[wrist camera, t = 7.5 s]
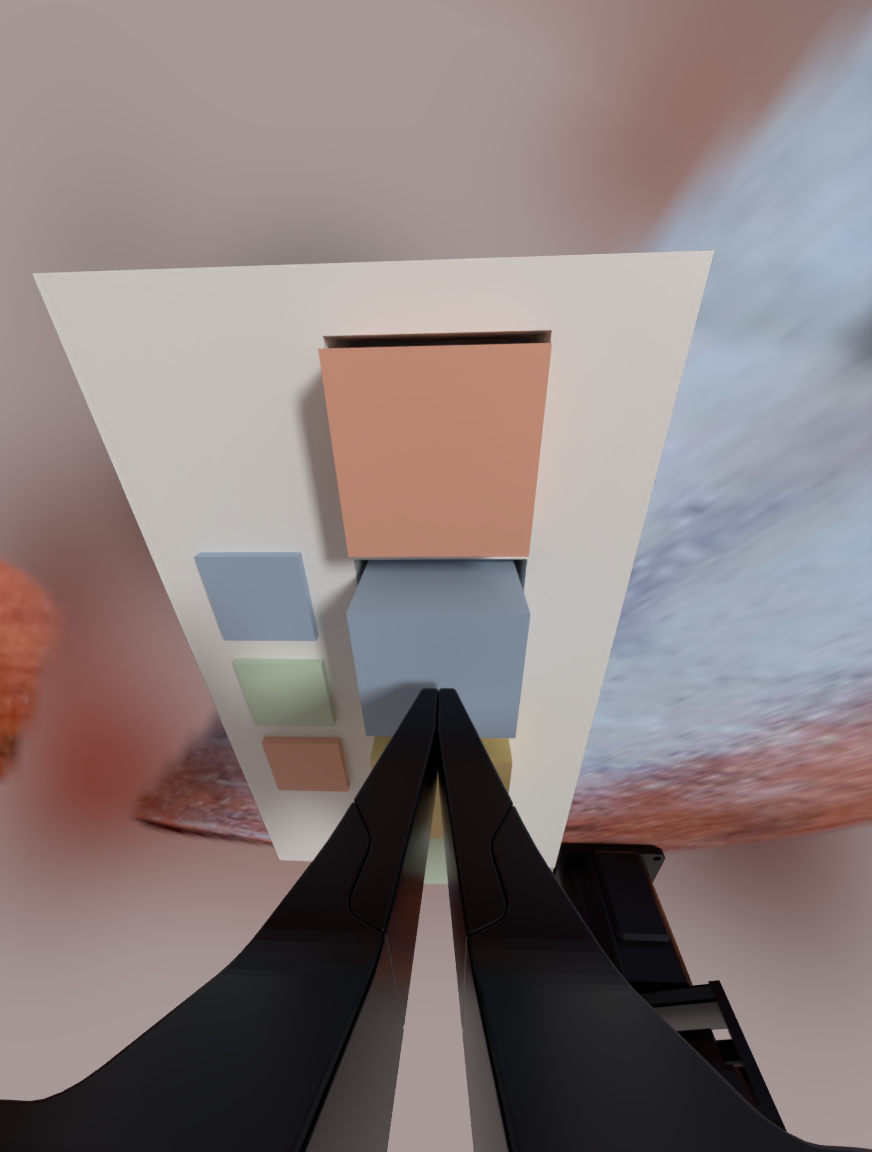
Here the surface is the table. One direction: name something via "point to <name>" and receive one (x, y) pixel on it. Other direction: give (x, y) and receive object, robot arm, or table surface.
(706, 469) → the table surface
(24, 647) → the table surface
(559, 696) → the keypad
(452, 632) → the slate key
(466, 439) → the terracotta key
